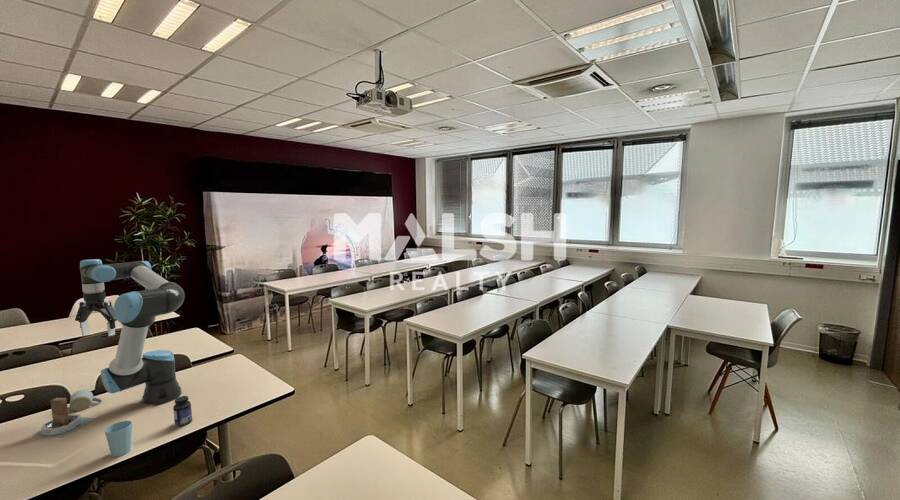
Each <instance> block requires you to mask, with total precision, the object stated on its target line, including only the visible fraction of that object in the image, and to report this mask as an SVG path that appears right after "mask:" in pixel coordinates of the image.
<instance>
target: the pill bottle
mask: <svg viewBox="0 0 900 500" xmlns="http://www.w3.org/2000/svg"><path fill="white" fill-rule="evenodd" d="M172 409H173V417H174V418H173V419H174V425H175V426H176V427H183V426H186V425H188V424H190V423H191V422H192V421H193V415H192V414H193V413H192V411H193V410H192V403H191V401H190V400H189V396H188V395H180V396H179V397H177V398H175V399H174V405H173V408H172Z"/></svg>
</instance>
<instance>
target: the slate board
mask: <svg viewBox="0 0 900 500" xmlns="http://www.w3.org/2000/svg"><path fill="white" fill-rule="evenodd" d="M96 419H98V417H88V416H87V417H85V416H84V417H82V416H81V424H80V425H79V426H78V427H76V428H74V429H72V430H70V431H68V432H65V433H62V434H58V435H53V436H44V435H43V434H41V431H40V432H38V433H35V434H33V435H32V437H43V438H63V437H65V436H67V435H68V434H71V433H72V432H74V431H76V430H78V429H80V428H81V427H83V426H86V425H88V424H89V423H91V422H93V421H95V420H96Z"/></svg>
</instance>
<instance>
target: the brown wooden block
mask: <svg viewBox="0 0 900 500" xmlns="http://www.w3.org/2000/svg"><path fill="white" fill-rule="evenodd" d="M50 408H51V415H52V420H53V423H60V426H64V425H67V424H69V416H68V415H69V408H68V401H67V397H55V398H53V399H50Z"/></svg>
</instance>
